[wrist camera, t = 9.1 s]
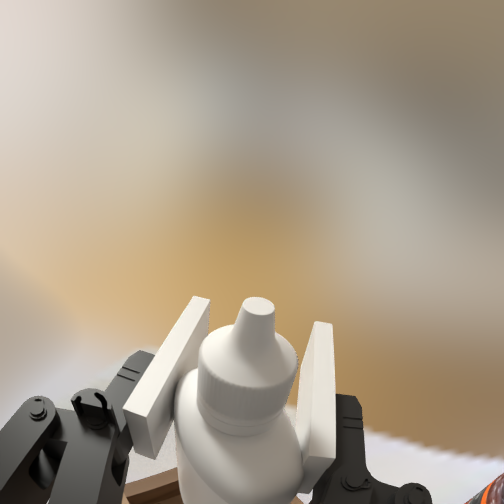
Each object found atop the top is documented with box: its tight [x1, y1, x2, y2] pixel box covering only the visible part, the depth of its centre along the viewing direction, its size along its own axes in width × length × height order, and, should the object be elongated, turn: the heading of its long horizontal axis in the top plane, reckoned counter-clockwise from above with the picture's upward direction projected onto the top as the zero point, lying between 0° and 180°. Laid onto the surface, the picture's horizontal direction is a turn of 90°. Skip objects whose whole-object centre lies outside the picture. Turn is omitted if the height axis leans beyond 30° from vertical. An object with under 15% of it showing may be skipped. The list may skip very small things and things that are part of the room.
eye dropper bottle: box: [174, 297, 304, 504], centre depth 9 cm, size 4×6×12 cm
